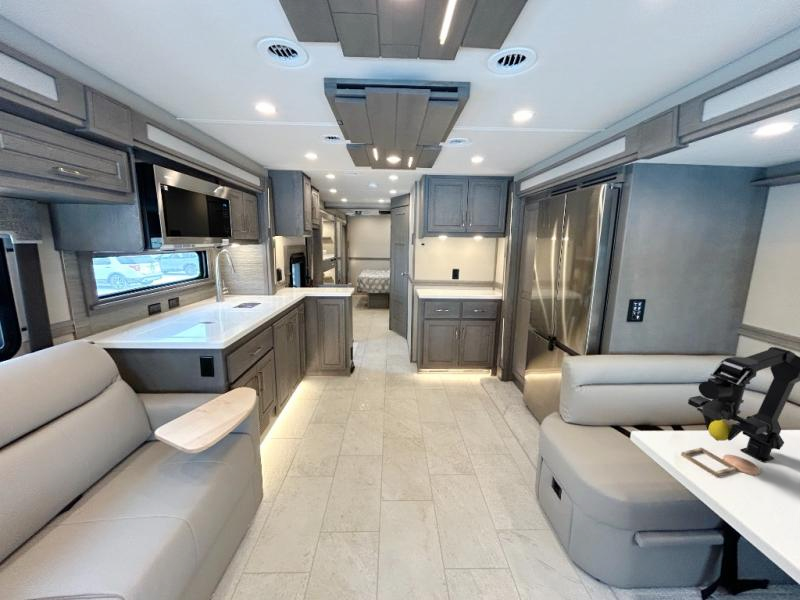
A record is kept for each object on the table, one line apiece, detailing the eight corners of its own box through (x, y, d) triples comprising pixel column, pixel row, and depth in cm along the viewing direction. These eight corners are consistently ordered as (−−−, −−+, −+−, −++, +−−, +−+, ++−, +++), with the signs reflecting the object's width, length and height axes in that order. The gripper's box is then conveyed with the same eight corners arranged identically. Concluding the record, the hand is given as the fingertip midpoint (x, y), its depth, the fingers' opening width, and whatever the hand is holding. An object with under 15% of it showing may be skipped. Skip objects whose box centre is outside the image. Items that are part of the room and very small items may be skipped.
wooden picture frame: (700, 450, 117) (701, 447, 116) (736, 470, 107) (737, 467, 106) (680, 455, 114) (681, 452, 113) (716, 476, 104) (716, 473, 104)
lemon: (732, 446, 105) (738, 426, 103) (713, 444, 106) (719, 424, 104) (719, 436, 110) (725, 416, 108) (702, 434, 111) (707, 414, 109)
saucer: (732, 454, 114) (733, 452, 114) (766, 472, 106) (767, 470, 106) (716, 458, 112) (717, 456, 112) (749, 477, 104) (750, 475, 103)
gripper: (681, 385, 111) (672, 422, 114) (750, 414, 93) (737, 457, 97) (703, 381, 113) (693, 417, 117) (774, 408, 96) (760, 451, 100)
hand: (718, 434), depth 107 cm, fingers closed on lemon, 5 cm apart
